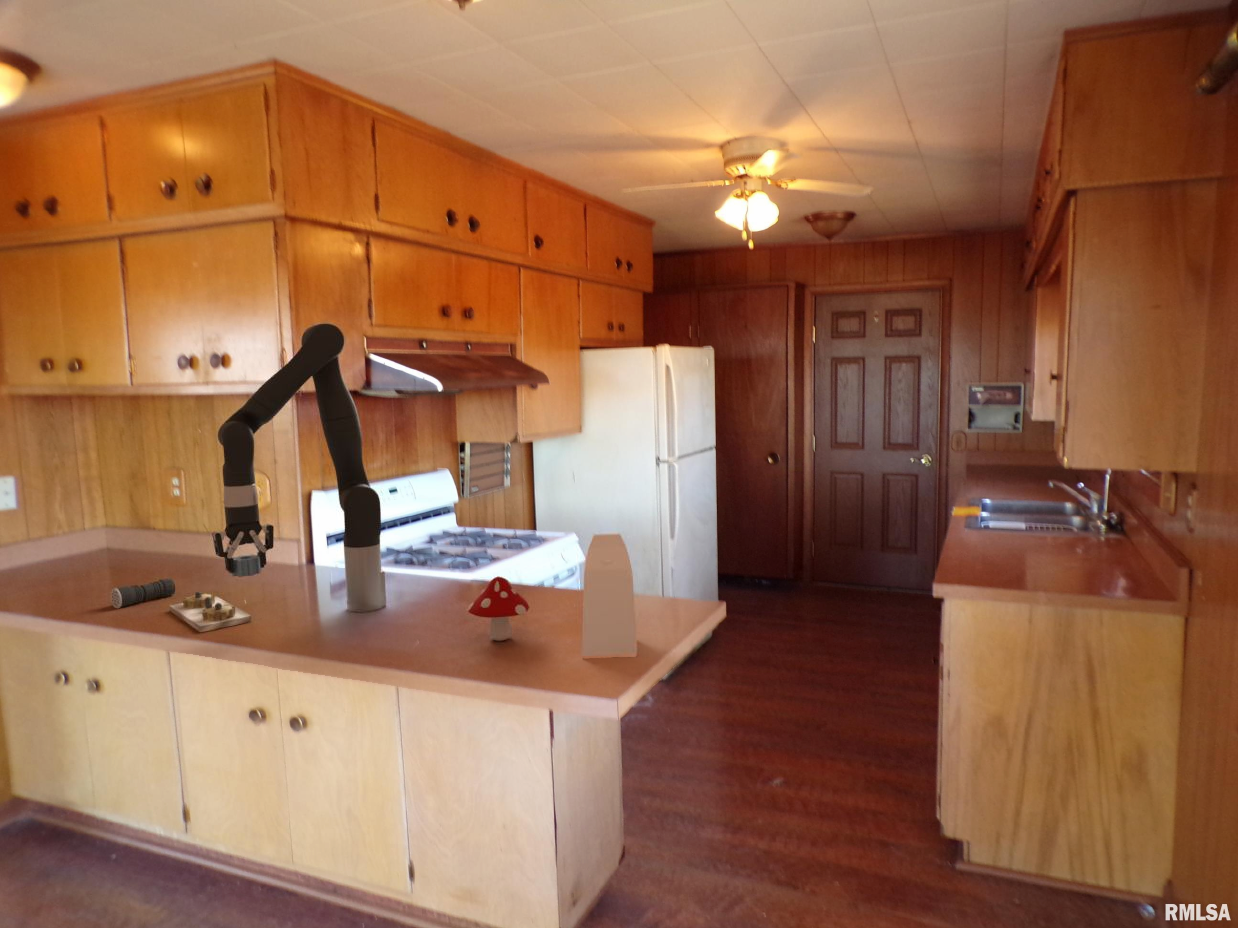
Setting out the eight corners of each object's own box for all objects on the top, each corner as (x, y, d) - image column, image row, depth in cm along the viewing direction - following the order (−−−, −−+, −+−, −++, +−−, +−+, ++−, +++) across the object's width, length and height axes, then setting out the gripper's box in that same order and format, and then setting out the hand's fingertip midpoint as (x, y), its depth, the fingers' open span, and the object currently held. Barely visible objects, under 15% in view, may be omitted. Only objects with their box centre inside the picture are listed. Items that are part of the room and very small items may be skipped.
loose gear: (255, 568, 206) (254, 553, 205) (265, 573, 201) (264, 557, 201) (228, 573, 201) (226, 557, 201) (237, 578, 197) (236, 562, 196)
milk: (634, 639, 188) (632, 528, 185) (637, 657, 177) (635, 539, 174) (582, 641, 188) (579, 530, 185) (581, 658, 177) (579, 540, 174)
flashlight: (168, 593, 237) (166, 575, 236) (177, 596, 234) (176, 577, 233) (111, 606, 224) (109, 587, 223) (121, 609, 221) (119, 590, 220)
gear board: (217, 601, 226) (216, 583, 226) (251, 621, 208) (249, 601, 207) (169, 610, 218) (168, 592, 218) (200, 632, 199) (198, 611, 199)
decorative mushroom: (543, 637, 191) (541, 575, 189) (497, 653, 180) (495, 587, 179) (504, 626, 200) (502, 566, 198) (458, 640, 190) (455, 577, 188)
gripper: (214, 508, 191) (221, 578, 193) (276, 500, 201) (282, 566, 203) (204, 505, 197) (210, 573, 199) (265, 497, 207) (270, 562, 209)
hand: (246, 569), depth 201 cm, fingers closed on loose gear, 6 cm apart
